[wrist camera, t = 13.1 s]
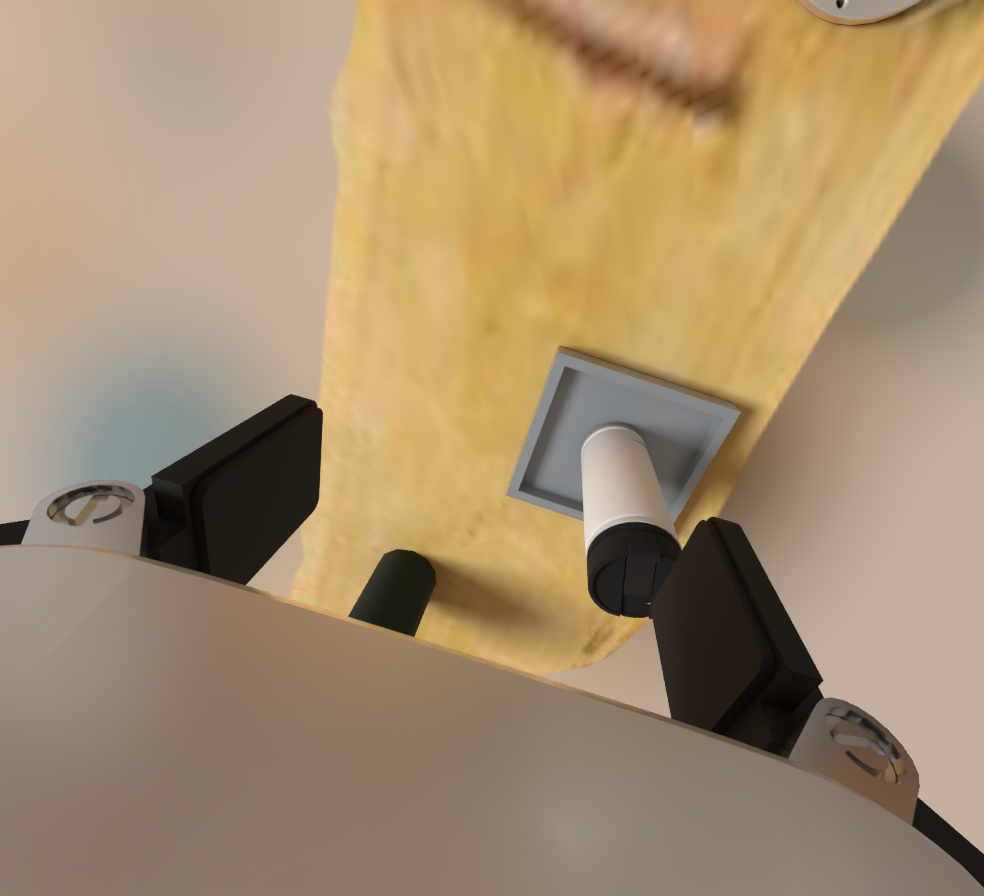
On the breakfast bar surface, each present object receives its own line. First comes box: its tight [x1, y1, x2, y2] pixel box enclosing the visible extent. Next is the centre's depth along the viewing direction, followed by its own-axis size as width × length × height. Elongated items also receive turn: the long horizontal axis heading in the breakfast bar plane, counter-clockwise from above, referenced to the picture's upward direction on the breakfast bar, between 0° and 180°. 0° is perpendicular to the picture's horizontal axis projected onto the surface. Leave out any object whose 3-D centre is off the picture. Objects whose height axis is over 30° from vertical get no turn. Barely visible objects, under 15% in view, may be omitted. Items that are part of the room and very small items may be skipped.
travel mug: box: [581, 422, 682, 619], centre depth 35 cm, size 6×7×20 cm
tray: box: [506, 346, 741, 524], centre depth 44 cm, size 16×17×2 cm
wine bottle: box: [348, 549, 436, 637], centre depth 44 cm, size 8×10×30 cm
